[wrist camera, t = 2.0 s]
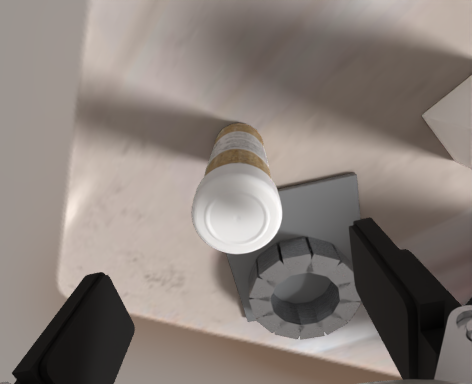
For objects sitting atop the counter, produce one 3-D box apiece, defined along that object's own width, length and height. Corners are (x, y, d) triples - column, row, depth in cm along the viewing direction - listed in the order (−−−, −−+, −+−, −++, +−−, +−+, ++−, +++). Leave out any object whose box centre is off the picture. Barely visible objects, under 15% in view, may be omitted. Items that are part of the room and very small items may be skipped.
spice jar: (244, 179, 27) (246, 271, 15) (204, 152, 26) (172, 228, 14) (274, 140, 26) (303, 209, 14) (232, 110, 25) (223, 156, 13)
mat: (211, 203, 29) (211, 206, 28) (354, 172, 27) (356, 174, 26) (247, 317, 35) (247, 321, 34) (365, 298, 33) (367, 302, 33)
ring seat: (239, 248, 30) (239, 267, 27) (345, 227, 29) (356, 245, 26) (260, 322, 34) (262, 345, 32) (354, 307, 33) (364, 329, 30)
